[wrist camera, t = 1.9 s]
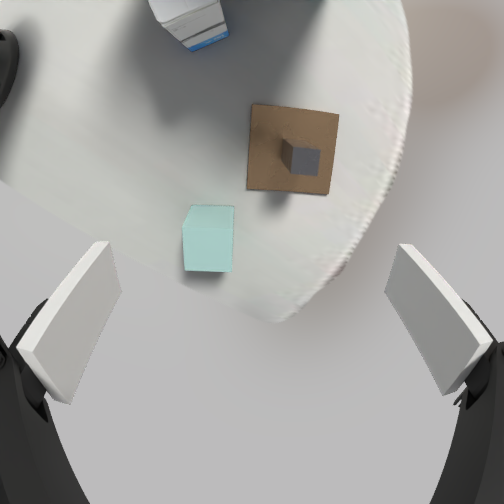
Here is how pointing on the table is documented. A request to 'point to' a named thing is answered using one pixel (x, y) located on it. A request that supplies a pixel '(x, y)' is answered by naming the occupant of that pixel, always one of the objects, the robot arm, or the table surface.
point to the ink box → (191, 21)
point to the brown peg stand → (291, 149)
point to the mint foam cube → (208, 238)
